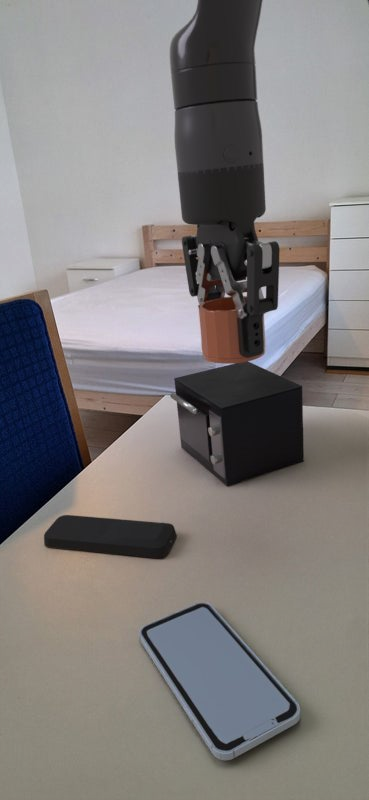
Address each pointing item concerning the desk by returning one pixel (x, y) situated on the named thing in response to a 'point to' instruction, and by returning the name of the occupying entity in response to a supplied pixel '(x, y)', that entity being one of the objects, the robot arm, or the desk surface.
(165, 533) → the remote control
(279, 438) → the toaster oven
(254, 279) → the robot arm
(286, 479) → the desk surface
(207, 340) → the cup
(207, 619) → the smartphone
